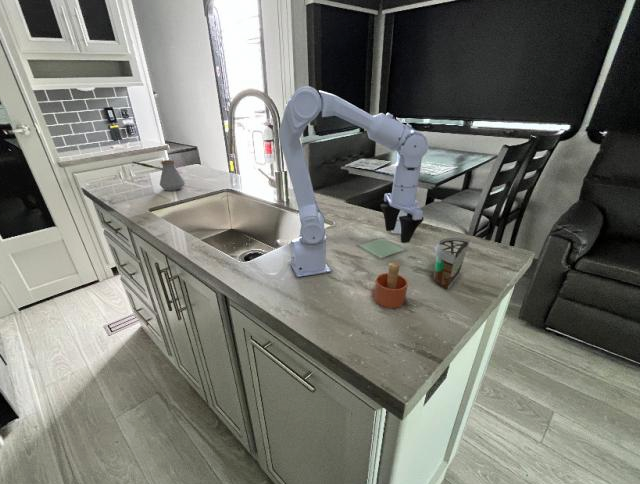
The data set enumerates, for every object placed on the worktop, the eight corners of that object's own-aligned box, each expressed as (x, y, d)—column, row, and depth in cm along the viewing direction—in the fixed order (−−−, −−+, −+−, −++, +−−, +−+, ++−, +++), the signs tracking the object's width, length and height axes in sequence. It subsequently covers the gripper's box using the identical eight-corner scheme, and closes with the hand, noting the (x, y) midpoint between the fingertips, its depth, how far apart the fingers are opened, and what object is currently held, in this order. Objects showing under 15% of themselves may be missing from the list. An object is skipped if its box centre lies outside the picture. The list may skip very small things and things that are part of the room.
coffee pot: (180, 184, 163) (174, 153, 156) (190, 188, 156) (183, 156, 148) (136, 192, 151) (127, 159, 144) (144, 198, 144) (135, 164, 136)
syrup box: (408, 235, 108) (415, 192, 101) (390, 233, 109) (395, 191, 102) (406, 228, 113) (413, 187, 105) (389, 227, 114) (395, 186, 107)
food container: (438, 264, 91) (445, 232, 86) (461, 272, 87) (470, 238, 82) (421, 283, 82) (428, 248, 77) (445, 292, 79) (454, 256, 74)
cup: (382, 310, 73) (385, 292, 70) (368, 293, 79) (370, 275, 76) (410, 304, 75) (414, 287, 72) (394, 288, 81) (397, 271, 78)
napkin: (380, 259, 94) (380, 258, 94) (358, 246, 101) (358, 245, 101) (404, 250, 98) (405, 249, 98) (382, 238, 106) (382, 238, 106)
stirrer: (387, 300, 75) (392, 267, 71) (383, 295, 77) (387, 262, 73) (396, 298, 76) (401, 265, 71) (391, 293, 78) (396, 261, 73)
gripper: (438, 191, 72) (427, 245, 79) (403, 175, 84) (396, 223, 91) (410, 194, 70) (401, 249, 77) (379, 177, 82) (373, 226, 89)
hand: (397, 235), depth 84 cm, fingers open, 7 cm apart
